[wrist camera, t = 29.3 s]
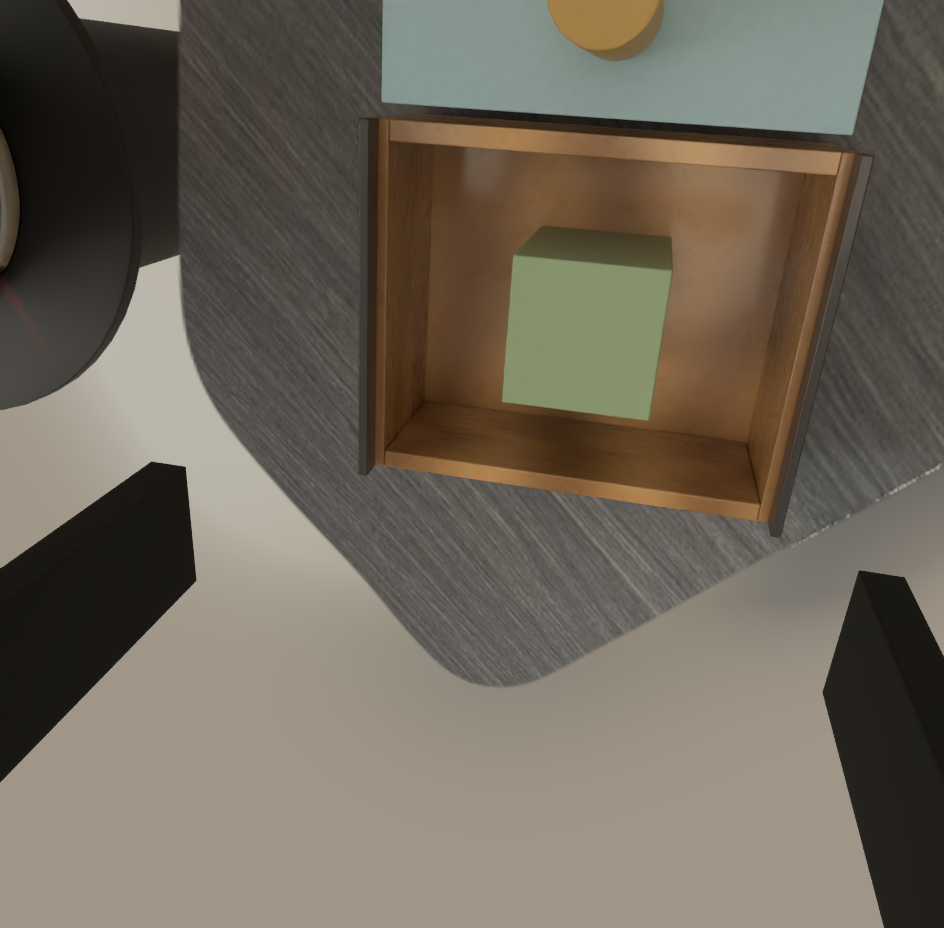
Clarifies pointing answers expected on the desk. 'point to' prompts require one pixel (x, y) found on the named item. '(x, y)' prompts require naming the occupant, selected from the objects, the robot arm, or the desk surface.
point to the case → (687, 318)
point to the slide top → (636, 59)
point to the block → (587, 321)
